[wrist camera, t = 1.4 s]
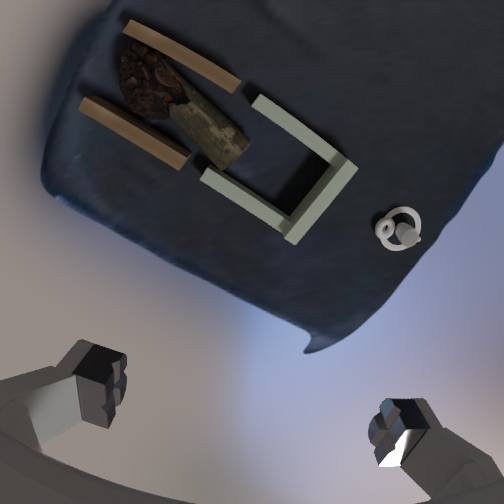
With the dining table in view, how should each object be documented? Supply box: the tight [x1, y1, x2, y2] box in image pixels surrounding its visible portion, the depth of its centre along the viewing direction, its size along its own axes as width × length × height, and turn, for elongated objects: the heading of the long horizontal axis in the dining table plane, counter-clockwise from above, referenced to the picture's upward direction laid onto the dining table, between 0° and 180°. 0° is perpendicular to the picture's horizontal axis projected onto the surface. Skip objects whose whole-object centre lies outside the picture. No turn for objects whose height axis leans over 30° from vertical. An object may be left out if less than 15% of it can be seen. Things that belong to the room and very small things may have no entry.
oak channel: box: [78, 20, 241, 170], centre depth 37 cm, size 14×17×4 cm
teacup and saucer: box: [375, 207, 421, 251], centre depth 47 cm, size 9×8×4 cm
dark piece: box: [119, 43, 251, 171], centre depth 37 cm, size 21×8×7 cm, turn 42°
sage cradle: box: [200, 94, 359, 245], centre depth 42 cm, size 14×16×4 cm
